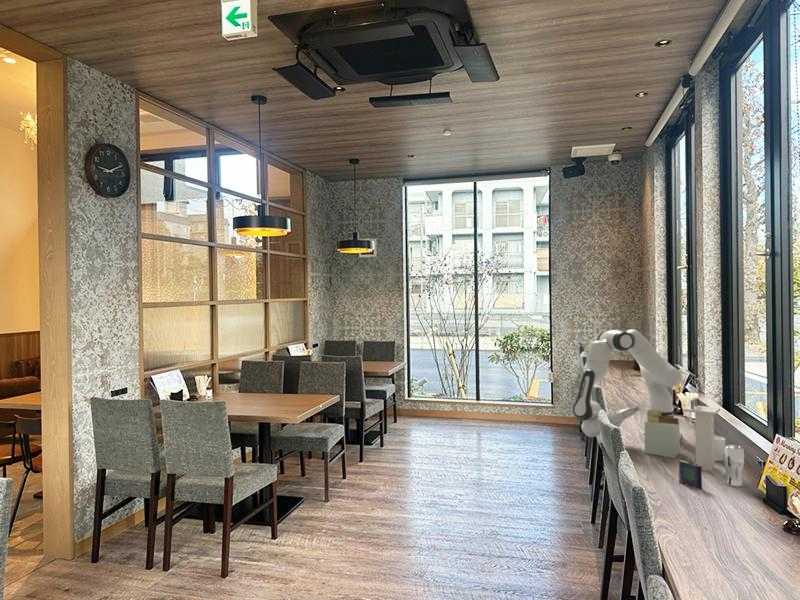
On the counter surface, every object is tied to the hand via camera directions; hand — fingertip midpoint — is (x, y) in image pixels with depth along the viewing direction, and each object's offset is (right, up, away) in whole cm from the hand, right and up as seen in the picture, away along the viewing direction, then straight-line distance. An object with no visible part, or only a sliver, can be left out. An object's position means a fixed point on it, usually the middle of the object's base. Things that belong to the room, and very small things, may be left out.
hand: (636, 409), depth 261 cm
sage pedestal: (+9, -19, -8) cm, 23 cm away
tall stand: (+16, -19, -30) cm, 39 cm away
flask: (-2, -19, -52) cm, 56 cm away
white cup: (+29, -19, -18) cm, 39 cm away
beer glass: (+16, -19, -51) cm, 57 cm away
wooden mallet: (+9, -4, -8) cm, 13 cm away
